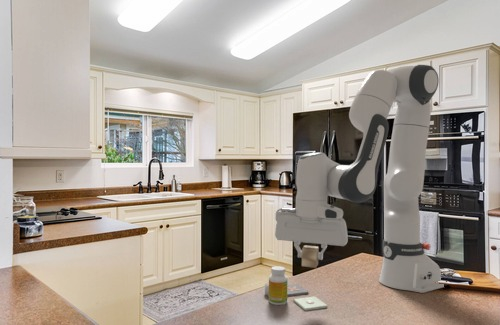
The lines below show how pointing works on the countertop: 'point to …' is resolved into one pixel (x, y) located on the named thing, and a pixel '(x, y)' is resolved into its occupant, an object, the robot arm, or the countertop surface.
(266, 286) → the light grey dome
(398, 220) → the robot arm
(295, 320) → the countertop surface
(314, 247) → the block
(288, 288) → the pad
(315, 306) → the pad
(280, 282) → the supplement bottle
